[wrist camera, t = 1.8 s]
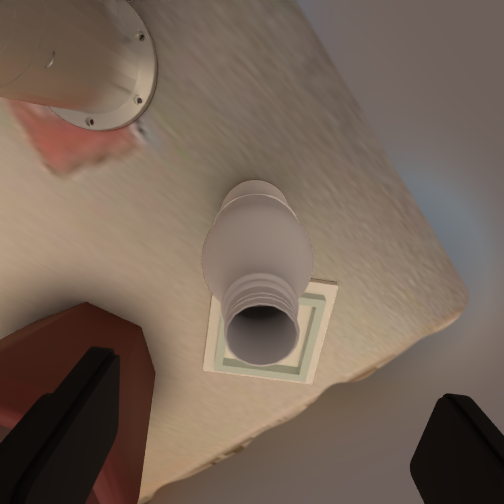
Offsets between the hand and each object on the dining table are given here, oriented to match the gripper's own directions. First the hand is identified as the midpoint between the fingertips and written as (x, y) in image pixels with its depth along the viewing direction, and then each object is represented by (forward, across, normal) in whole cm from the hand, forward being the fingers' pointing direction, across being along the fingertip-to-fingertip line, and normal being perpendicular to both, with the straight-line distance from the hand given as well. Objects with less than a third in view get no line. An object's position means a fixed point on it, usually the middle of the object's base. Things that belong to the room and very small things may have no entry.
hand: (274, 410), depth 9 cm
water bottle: (+29, +1, 0) cm, 29 cm away
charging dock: (+28, -3, +15) cm, 32 cm away
